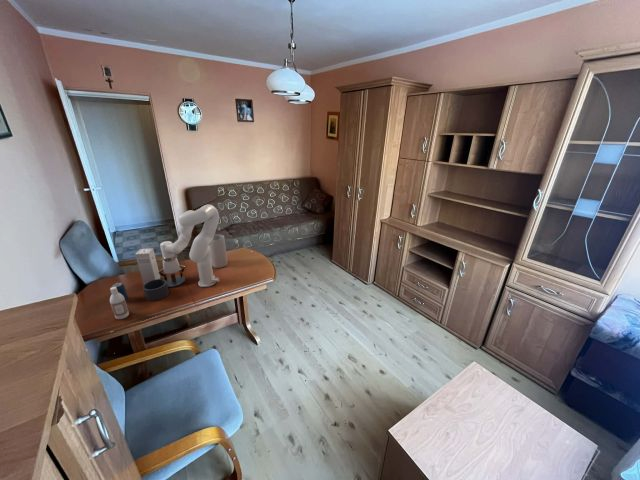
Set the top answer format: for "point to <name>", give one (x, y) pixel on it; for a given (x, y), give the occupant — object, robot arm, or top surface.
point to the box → (147, 265)
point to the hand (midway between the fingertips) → (174, 278)
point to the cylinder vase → (218, 251)
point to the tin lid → (175, 280)
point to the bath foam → (118, 304)
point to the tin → (155, 289)
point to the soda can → (120, 289)
